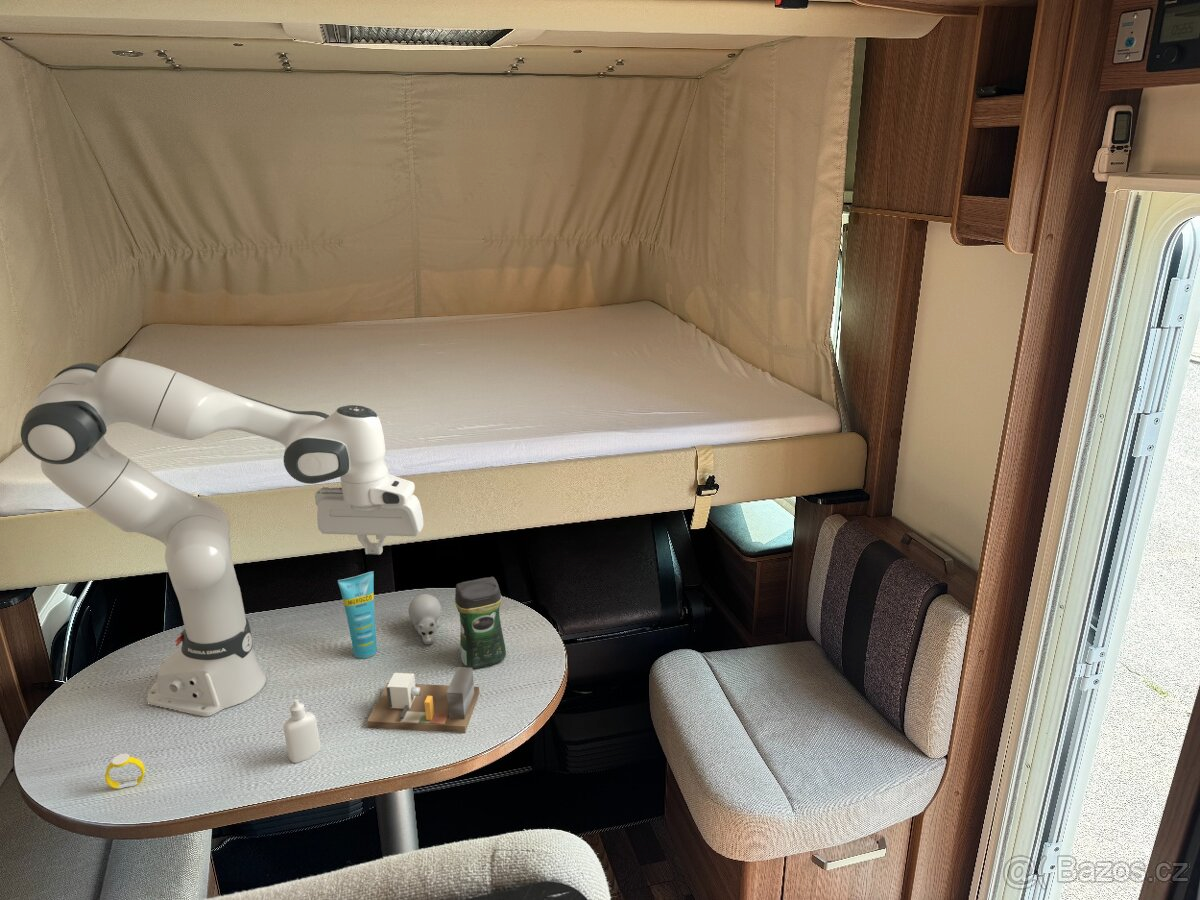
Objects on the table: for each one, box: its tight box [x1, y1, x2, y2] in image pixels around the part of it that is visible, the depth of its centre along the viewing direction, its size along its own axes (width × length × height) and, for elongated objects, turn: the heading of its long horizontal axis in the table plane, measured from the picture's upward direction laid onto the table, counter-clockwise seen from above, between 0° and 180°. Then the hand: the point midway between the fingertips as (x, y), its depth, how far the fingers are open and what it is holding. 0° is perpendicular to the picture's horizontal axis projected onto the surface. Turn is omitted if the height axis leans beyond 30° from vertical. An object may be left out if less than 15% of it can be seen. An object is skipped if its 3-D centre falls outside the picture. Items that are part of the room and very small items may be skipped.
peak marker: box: [424, 696, 434, 720], centre depth 163 cm, size 1×2×4 cm, turn 174°
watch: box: [104, 752, 146, 790], centre depth 149 cm, size 6×3×6 cm, turn 109°
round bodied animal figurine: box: [408, 593, 442, 645], centre depth 192 cm, size 7×12×8 cm, turn 12°
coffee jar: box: [454, 576, 507, 669], centre depth 181 cm, size 10×8×19 cm
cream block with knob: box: [387, 672, 421, 719], centre depth 165 cm, size 6×8×5 cm
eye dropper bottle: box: [283, 698, 322, 764], centre depth 155 cm, size 4×6×12 cm
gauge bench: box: [366, 666, 480, 734], centre depth 167 cm, size 19×12×8 cm, turn 85°
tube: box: [337, 570, 378, 659], centre depth 183 cm, size 7×5×19 cm, turn 123°
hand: (374, 553), depth 168 cm, fingers closed
